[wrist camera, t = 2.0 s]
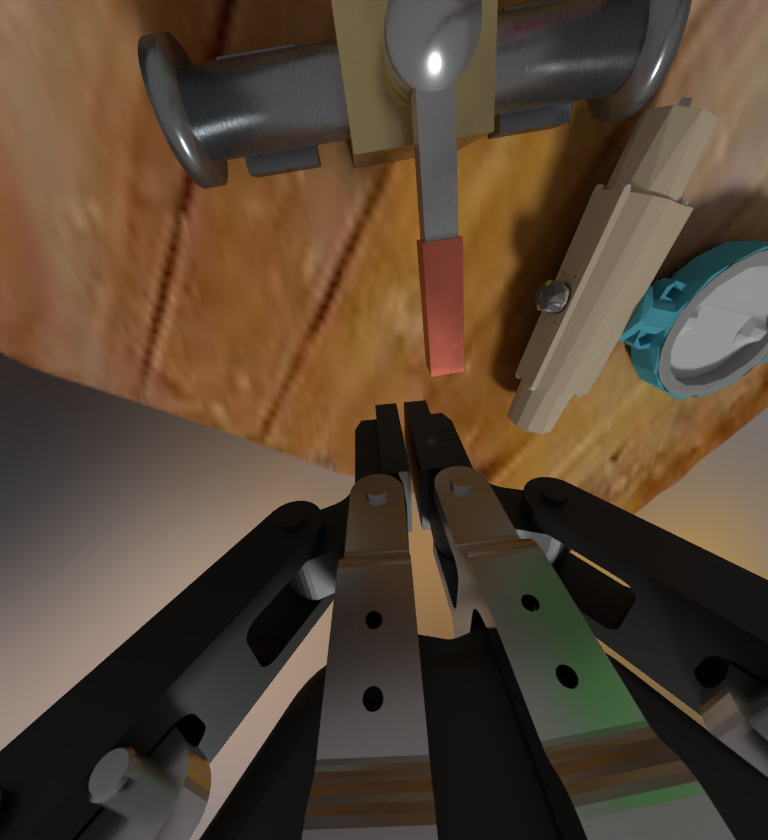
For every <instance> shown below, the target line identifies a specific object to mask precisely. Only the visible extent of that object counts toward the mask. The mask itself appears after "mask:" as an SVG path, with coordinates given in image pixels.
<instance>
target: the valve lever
mask: <svg viewBox="0 0 768 840" xmlns="http://www.w3.org/2000/svg"><path fill="white" fill-rule="evenodd" d="M481 26H482V2H481V0H388V3H387V9H386V15H385V21H384V28H383V40H382V43H383V55H384V60H385V64H386V67H387V70H388V73H389V75H390V77H391V79H392V81H393V82H394V84H395V85H396V87H397V88H398V89H399V90H400V91H401V92H402V93H403V94H405V95H406V96H407V97H409V98H411V110H412V124H413V138H414V153H415V167H416V181H417V195H418V210H419V224H420V238H421V239H420V240H417V251H418V264H419V277H420V290H421V304H422V317H423V330H424V343H425V356H426V365H427V368H428V370H429V372H430V375H431V377H432V376H438V375H444V374H451V373H457V372H464V318H463V237H461V236H458V202H457V140H456V81H457V79H458V78H459V77H460V76H461V74H462V73H463V72H464V71H465V69H466V68H467V66H468V65H469V63H470V61H471V60H472V58H473V55H474V53H475V51H476V48H477V45H478V42H479V37H480V33H481Z"/></svg>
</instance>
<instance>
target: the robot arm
mask: <svg viewBox="0 0 768 840" xmlns="http://www.w3.org/2000/svg"><path fill="white" fill-rule="evenodd" d="M375 407H376V418H377V419H375V420H365V421H361V422H360V424H359V425H358V427H357V428H356V430H355V484H354V486H353V487H352V489H351V492H350V494H349V495H348V497H346V498H345V499H344V500H343V501H341V502H339V503H337V504H335V505H332V506H329V507H327V508H324V509H321V510H320V509H319V508H318V507H317V506H316V505H315V504H313V503H311V502H307V501H295V502H290V503H287V504H285V505H282V506H281V507H279V508H277V509H276V510H275V511H273V512H272V513H271V514H270V515H269V516H268V517H267V518H265V519H264V520H263V521H262V522H261V523H260V524H259V525H257V526H256V527H255V528H254V529H253V530H252V531H251V532H249V533H248V534H247V535H246V536H245V537H244V538H243V539H241V540H240V541H239V542H238V543H237V544H236V545H235V546H233V548H231V549H230V550H229V551H228V552H227V553H226V554H224V555H223V556H222V557H221V558H220V559H219V560H218V561H216V562H215V563H214V564H213V565H212V566H211V567H210V568H208V569H207V570H206V571H205V572H204V573H203V574H202V575H201V576H199V577H198V578H197V579H196V580H195V581H194V582H193V583H192V584H190V585H189V586H188V587H187V588H186V589H185V590H183V591H182V592H181V593H180V594H179V595H178V596H177V597H176V598H174V599H173V600H172V601H171V602H170V603H169V604H168V605H166V606H165V607H164V608H163V609H162V610H161V611H159V612H158V613H157V614H156V615H155V616H154V617H153V618H151V619H150V620H149V621H148V622H147V623H146V624H145V625H143V626H142V627H141V628H140V629H139V630H138V631H137V632H136V633H134V634H133V635H132V636H131V637H130V638H129V639H128V640H126V641H125V642H124V643H123V644H122V645H121V646H120V647H118V648H117V649H116V650H115V651H114V652H113V653H112V654H110V656H108V657H107V658H106V659H105V660H104V661H102V662H101V663H100V664H99V665H98V666H97V667H96V668H95V669H94V670H92V671H91V672H90V673H89V674H88V675H87V676H85V677H84V678H83V679H82V680H81V681H80V682H79V683H78V684H76V685H75V686H74V687H73V688H72V689H71V690H69V691H68V692H67V693H66V694H65V695H64V696H63V697H61V698H60V699H59V700H58V701H57V702H56V703H55V704H54V705H52V706H51V707H50V708H49V709H48V710H47V711H46V712H44V713H43V714H42V715H41V716H40V717H39V718H38V719H36V720H35V721H34V722H33V723H32V724H31V725H30V726H28V727H27V728H26V729H25V730H24V731H23V732H22V733H21V734H20V735H18V736H17V737H16V738H15V739H14V740H13V741H11V742H10V743H9V744H8V745H7V746H6V747H5V748H3V749H2V750H1V751H0V840H189V839H190V838H191V836H192V834H193V832H194V831H195V829H196V827H197V826H198V824H199V822H200V819H201V817H202V815H203V813H204V810H205V807H206V805H207V802H208V798H209V793H210V787H211V770H210V765H209V764H210V763H211V761H212V760H213V759H214V757H215V756H216V755H217V753H218V752H219V751H220V749H221V748H222V747H223V745H224V744H225V743H226V741H227V740H228V739H229V737H230V736H231V735H232V734H233V732H234V731H235V730H236V728H237V727H238V726H239V724H240V723H241V722H242V720H243V719H244V717H245V716H246V715H247V714H248V712H249V711H250V710H251V708H252V707H253V706H254V704H255V703H256V702H257V700H258V699H259V698H260V697H261V695H262V694H263V693H264V691H265V690H266V689H267V687H268V686H269V685H270V683H271V682H272V681H273V679H274V678H275V676H276V675H277V674H278V673H279V671H280V670H281V669H282V667H283V666H284V665H285V663H286V662H287V661H288V660H289V658H290V657H291V655H292V654H293V653H294V652H295V650H296V649H297V648H298V646H299V645H300V644H301V642H302V641H303V639H304V638H305V637H306V636H307V634H308V633H309V632H310V630H311V629H312V628H313V626H314V625H315V624H316V622H317V621H318V620H319V618H320V617H321V616H322V615H323V613H324V612H325V611H326V609H327V608H328V607H329V605H330V604H331V602H332V601H333V600H334V603H333V612H332V621H331V631H330V639H329V649H328V658H327V665H326V666H324V667H323V668H322V669H321V670H319V671H318V672H317V673H316V674H315V675H314V676H313V677H312V678H311V679H310V680H309V681H308V682H307V683H306V684H305V685H304V686H303V688H302V689H301V690H300V691H299V692H298V693H297V695H296V696H295V698H294V699H293V701H292V702H291V703H290V705H289V707H288V708H287V709H286V711H285V712H284V714H283V715H282V717H281V718H280V720H279V721H278V723H277V724H276V726H275V727H274V729H273V730H272V732H271V733H270V735H269V736H268V738H267V739H266V741H265V742H264V744H263V745H262V747H261V748H260V750H259V751H258V753H257V754H256V756H255V757H254V759H253V760H252V762H251V763H250V765H249V766H248V768H247V769H246V771H245V772H244V774H243V775H242V776H241V778H240V779H239V781H238V783H237V784H236V786H235V787H234V789H233V790H232V791H231V793H230V795H229V796H228V798H227V799H226V800H225V802H224V804H223V805H222V807H221V808H220V809H219V811H218V812H217V814H216V815H215V817H214V818H213V820H212V821H211V823H210V824H209V826H208V827H207V829H206V830H205V832H204V833H203V835H202V836H201V838H200V839H199V840H768V580H766V579H764V578H762V577H760V576H758V575H756V574H754V573H752V572H750V571H748V570H746V569H743V568H742V567H740V566H738V565H736V564H734V563H731V562H729V561H727V560H725V559H723V558H721V557H719V556H717V555H715V554H713V553H711V552H709V551H707V550H705V549H703V548H701V547H699V546H697V545H694V544H692V543H690V542H688V541H686V540H684V539H682V538H680V537H678V536H676V535H674V534H672V533H670V532H668V531H666V530H664V529H662V528H660V527H658V526H656V525H654V524H651V523H649V522H647V521H645V520H643V519H641V518H639V517H637V516H635V515H633V514H631V513H629V512H627V511H625V510H623V509H621V508H619V507H617V506H615V505H613V504H610V503H608V502H606V501H604V500H602V499H600V498H598V497H596V496H594V495H592V494H590V493H588V492H586V491H584V490H582V489H580V488H578V487H576V486H574V485H572V484H569V483H567V482H565V481H563V480H560V479H556V478H550V477H540V478H535V479H532V480H530V481H529V482H527V484H526V485H525V487H524V490H517V489H510V488H503V487H498V486H495V485H492V484H490V483H489V482H488V480H487V479H486V477H485V476H484V475H483V474H481V473H480V472H479V471H477V470H475V469H473V467H472V465H471V463H470V461H469V458H468V456H467V454H466V452H465V449H464V447H463V445H462V443H461V440H460V439H459V436H458V434H457V432H456V429H455V427H454V425H453V422H452V420H450V419H449V418H448V417H446V416H445V415H444V414H443V413H437V414H430V411H429V408H428V406H427V403H426V401H425V400H424V401H413V402H404V420H405V442H406V449H405V444H404V439H403V434H402V429H401V424H400V419H399V415H398V410H397V405H396V403H393V404H382V405H375ZM406 452H407V454H406ZM409 467H410V468H409ZM410 472H411V477H412V482H413V487H414V492H415V497H416V501H417V506H418V511H419V516H420V521H421V526H422V530H426V529H431V531H432V535H433V540H434V541H433V552H434V556H435V560H436V563H437V567H438V570H439V573H440V577H441V580H442V584H443V587H444V591H445V594H446V598H447V601H448V605H449V608H450V612H451V616H452V620H453V626H454V634H455V639H450V640H448V639H441V638H436V637H429V636H423V635H418V631H417V620H416V609H415V598H414V587H413V577H412V566H411V557H410V554H409V540H408V531H412V512H411V483H410ZM571 549H572V550H574V551H575V552H577V553H579V554H580V555H582V556H584V557H585V558H587V559H588V560H590V561H592V562H593V563H595V564H597V565H598V566H600V567H602V568H603V569H605V570H607V571H609V572H610V573H611V574H613V575H615V576H616V577H618V578H620V579H621V580H623V581H624V582H625V583H626V584H628V585H629V586H630V587H631V588H629V587H626V586H623V585H622V584H620V583H618V582H616V581H615V580H614V579H612V578H610V577H609V576H607V575H605V574H604V573H602V572H601V571H599V570H597V569H596V568H594V567H593V566H591V565H589V564H588V563H586V562H584V561H583V560H581V559H579V558H578V557H576V556H575V555H573V554H572V553H570V551H571ZM596 638H598V639H599V640H600V641H602V642H603V643H604V644H606V645H607V646H608V647H610V648H611V649H612V650H614V651H615V652H616V653H618V654H619V655H620V656H622V657H623V658H624V659H626V660H627V661H629V662H630V663H631V664H633V665H634V666H635V667H637V668H638V669H639V670H641V671H642V672H643V673H645V674H646V675H647V676H649V677H650V678H651V679H653V680H654V681H655V682H657V683H658V684H660V685H661V686H662V687H663V688H665V689H666V690H668V691H669V692H670V693H671V694H673V695H674V696H676V697H677V698H679V699H680V700H681V701H682V702H684V703H685V704H686V705H688V706H689V707H691V708H692V709H693V710H694V711H696V712H697V713H698V714H700V715H701V716H702V718H703V720H704V723H705V725H706V727H707V729H708V731H707V730H706V729H705V728H704V727H702V726H701V725H700V724H698V723H697V722H696V721H695V720H693V719H692V718H691V717H689V716H688V715H687V714H685V713H684V712H683V711H682V710H680V709H679V708H678V707H676V706H675V705H674V704H673V703H671V702H670V701H669V700H667V699H666V698H665V697H664V696H662V695H661V694H660V693H658V692H657V691H656V690H655V689H653V688H652V687H651V686H649V685H648V684H647V683H646V682H644V681H643V680H642V679H640V678H639V677H638V676H636V675H635V674H634V673H633V672H631V671H630V670H629V669H627V668H626V667H625V666H624V665H622V664H621V663H620V662H618V661H617V660H616V659H614V658H612V657H611V656H610V655H608V654H607V653H605V652H604V650H603V649H602V647H601V645H600V644H599V642H598V640H597V639H596Z"/></svg>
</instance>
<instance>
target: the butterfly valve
mask: <svg viewBox="0 0 768 840" xmlns="http://www.w3.org/2000/svg"><path fill="white" fill-rule="evenodd" d="M691 101H692V98H682V99H681V101H680V103H679V105H678V106H676V105H672V106H665V107H658V108H652V109H647V110H646V111H645V112H643V113H642V114H641V115H640V117H639V119H638V121H637V123H636V125H635V127H634V129H633V131H632V134H631V136H630V138H629V140H628V142H627V144H626V146H625V148H624V150H623V152H622V154H621V156H620V158H619V160H618V162H617V165H616V167H615V169H614V171H613V173H612V175H611V177H610V179H609V181H608V183H607V185H603V184H598V185H597V186H596V187H595V189H594V190H593V193H592V195H591V197H590V200H589V202H588V205H587V207H586V209H585V212H584V214H583V216H582V219H581V221H580V223H579V226H578V228H577V230H576V233H575V235H574V237H573V240H572V242H571V244H570V247H569V249H568V251H567V254H566V256H565V258H564V261H563V263H562V265H561V268H560V270H559V272H558V275H557V277H556V279H555V280H551V279H548V280H547V281H546V282H545V283H543V285H541V286H540V287H539V288H538V289H537V293H536V296H535V304H536V308H537V310H540V311H542V312H541V315H540V317H539V319H538V322H537V324H536V326H535V329H534V331H533V333H532V336H531V338H530V340H529V343H528V345H527V347H526V350H525V352H524V354H523V357H522V359H521V361H520V364H519V366H518V368H517V371H516V378H518V379H521V378H522V379H521V382H520V384H519V387H518V389H517V392H516V394H515V397H514V399H513V402H512V404H511V407H510V409H509V412H508V414H507V415H508V417H509V419H510V420H511V421H512V422H513V423H514V424H515V425H517V426H518V427H520V428H522V429H524V430H526V431H530V432H534V433H539V434H543V433H548V432H550V431H551V430H552V428H553V426H554V425H555V423H556V421H557V420H558V418H559V416H560V415H561V413H562V411H563V410H564V408H565V406H566V405H567V403H568V402H569V401H570V399H571V398H572V397H573V396H574V395H576V396H577V397H581V396H582V394H585V395H587V394H588V393H589V391H590V389H591V387H592V386H593V384H594V382H595V380H596V379H597V377H598V375H599V373H600V372H601V370H602V368H603V366H604V365H605V363H606V361H607V359H608V358H609V356H610V354H611V352H612V351H613V349H614V347H615V345H616V344H617V342H618V341H623V340H624V341H625V343H626V344H628V345H630V346H631V363H632V365H633V367H634V368H635V370H636V372H637V374H638V376H639V378H640V379H642V380H644V381H646V382H648V383H649V384H651V385H653V386H655V387H657V388H658V389H660V390H662V391H664V392H665V393H667V394H669V395H671V396H673V397H674V398H676V399H683V398H691V397H699V396H704V395H707V394H709V393H711V392H714V391H716V390H719V389H721V388H723V387H726V386H728V385H730V384H732V383H733V382H735V381H737V380H738V379H740V378H741V377H743V376H745V375H746V374H747V373H748V372H749V371H750V370H752V369H753V368H754V367H755V366H756V365H758V364H760V363H763V362H764V361H765V360H766V359H767V358H768V241H758V240H753V241H727V242H725V243H723V244H721V245H719V246H717V247H715V248H713V249H711V250H709V251H707V252H705V253H703V254H701V255H699V256H697V257H695V258H694V259H693V260H691V261H690V262H689V263H688V264H686V265H685V266H684V267H682V268H681V269H680V270H679V271H677V272H676V273H675V274H674V275H673V276H672V277H671V278H670V279H669V278H663V279H661V280H658V281H656V282H655V283H654V285H653V286H651V285H650V284H651V282H652V281H653V279H654V277H655V275H656V274H657V272H658V270H659V268H660V267H661V265H662V263H663V261H664V260H665V258H666V256H667V254H668V253H669V251H670V249H671V247H672V246H673V244H674V242H675V240H676V239H677V237H678V235H679V233H680V232H681V230H682V228H683V226H684V225H685V223H686V221H687V219H688V218H689V216H690V214H691V212H692V211H693V209H694V208H691V207H688V204H689V201H690V200H684V199H682V198H683V194H684V190H685V188H686V186H687V183H688V181H689V179H690V177H691V175H692V173H693V170H694V168H695V166H696V164H697V162H698V160H699V158H700V156H701V154H702V152H703V150H704V148H705V146H706V144H707V142H708V140H709V138H710V136H711V134H712V132H713V130H714V128H715V126H716V124H717V122H718V120H719V118H718V117H717V116H716V115H714V114H712V113H710V112H708V111H706V110H704V109H700V108H692V107H689V106H690V103H691ZM645 293H646V294H645Z"/></svg>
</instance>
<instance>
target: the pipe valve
mask: <svg viewBox="0 0 768 840" xmlns="http://www.w3.org/2000/svg"><path fill="white" fill-rule="evenodd" d="M330 1H331V9H332V18H333V26H334V34H335V40H329V41H323V42H317V43H312V44H306V45H300V46H296V44H289V45H283V46H277V47H271V48H266V49H260V50H254V51H248V52H242V53H237V54H231V55H225V56H219V57H216V60H213V61H207V62H201V63H195V64H192V62H191V60H190V58H189V57H188V55H187V53H186V52H185V50H184V49H183V47H182V46H181V44H180V43H179V42H178V40H177V39H176V38H175V37H174V36H173V35H172V34H170V33H169V32H161V33H155V34H149V35H144V36H141V37H140V39H139V42H138V58H139V64H140V69H141V74H142V77H143V81H144V85H145V88H146V91H147V94H148V97H149V100H150V103H151V105H152V108H153V110H154V113H155V115H156V118H157V120H158V123H159V125H160V127H161V129H162V131H163V133H164V136H165V138H166V140H167V142H168V144H169V145H170V147H171V149H172V151H173V153H174V154H175V156H176V158H177V160H178V161H179V163H180V164H181V166H182V167H183V169H184V170H185V172H186V173H187V174H188V175H189V177H190V178H191V179H192V180H193V181H194V182H195V183H196V184H197V185H198V186H200V187H201V188H204V189H206V188H213V187H219V186H224V185H226V183H227V180H228V165H227V160H230V159H236V158H242V157H245V161H246V164H247V167H248V171H249V174H250V175H251V176H254V177H264V176H270V175H276V174H282V173H288V172H294V171H300V170H306V169H312V168H318V167H321V162H320V157H319V152H318V146H317V145H319V144H325V143H331V142H337V141H343V140H349V139H350V143H351V149H352V156H353V163H354V168H357V167H363V166H369V165H375V164H381V163H387V162H393V161H399V160H405V159H411V158H415V153H414V138H413V124H412V110H411V98H409V97H407V96H406V95H405V94H403V93H402V92H401V91H400V90H399V89H398V88H397V87H396V85H395V84H394V82H393V81H392V79H391V77H390V75H389V73H388V70H387V67H386V64H385V60H384V55H383V43H382V40H383V28H384V21H385V15H386V9H387V3H388V0H330ZM691 1H692V0H545V1H539V2H533V3H527V4H522V5H516V6H510V7H504V8H503V10H502V11H498V12H497V10H498V0H481V2H482V26H481V33H480V37H479V42H478V45H477V48H476V51H475V53H474V55H473V58H472V60H471V61H470V63H469V65H468V66H467V68H466V69H465V71H464V72H463V73H462V74H461V76H460V77H459V78H458V79H457V81H456V140H457V150H459V149H461V148H463V147H465V146H467V145H469V144H470V143H472V142H474V141H476V140H478V139H480V138H482V137H484V136H486V135H488V139H492V138H498V137H504V136H510V135H516V134H522V133H528V132H534V131H540V130H546V129H552V128H555V127H558V126H560V125H563V124H566V123H568V122H570V116H571V108H572V102H576V101H582V100H587V103H588V107H589V110H590V112H591V115H592V116H593V117H594V118H595V119H596V120H597V121H599V122H609V121H615V120H621V119H626V118H629V117H631V116H633V115H634V114H636V113H637V112H638V111H639V110H640V109H642V108H643V107H644V105H645V104H646V103H647V102H648V101H649V100H650V99H651V97H652V96H653V95H654V93H655V92H656V90H657V89H658V87H659V86H660V84H661V83H662V81H663V79H664V78H665V76H666V74H667V72H668V70H669V68H670V66H671V64H672V62H673V60H674V57H675V55H676V53H677V50H678V48H679V45H680V42H681V40H682V37H683V33H684V30H685V27H686V23H687V20H688V16H689V11H690V6H691Z"/></svg>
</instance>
